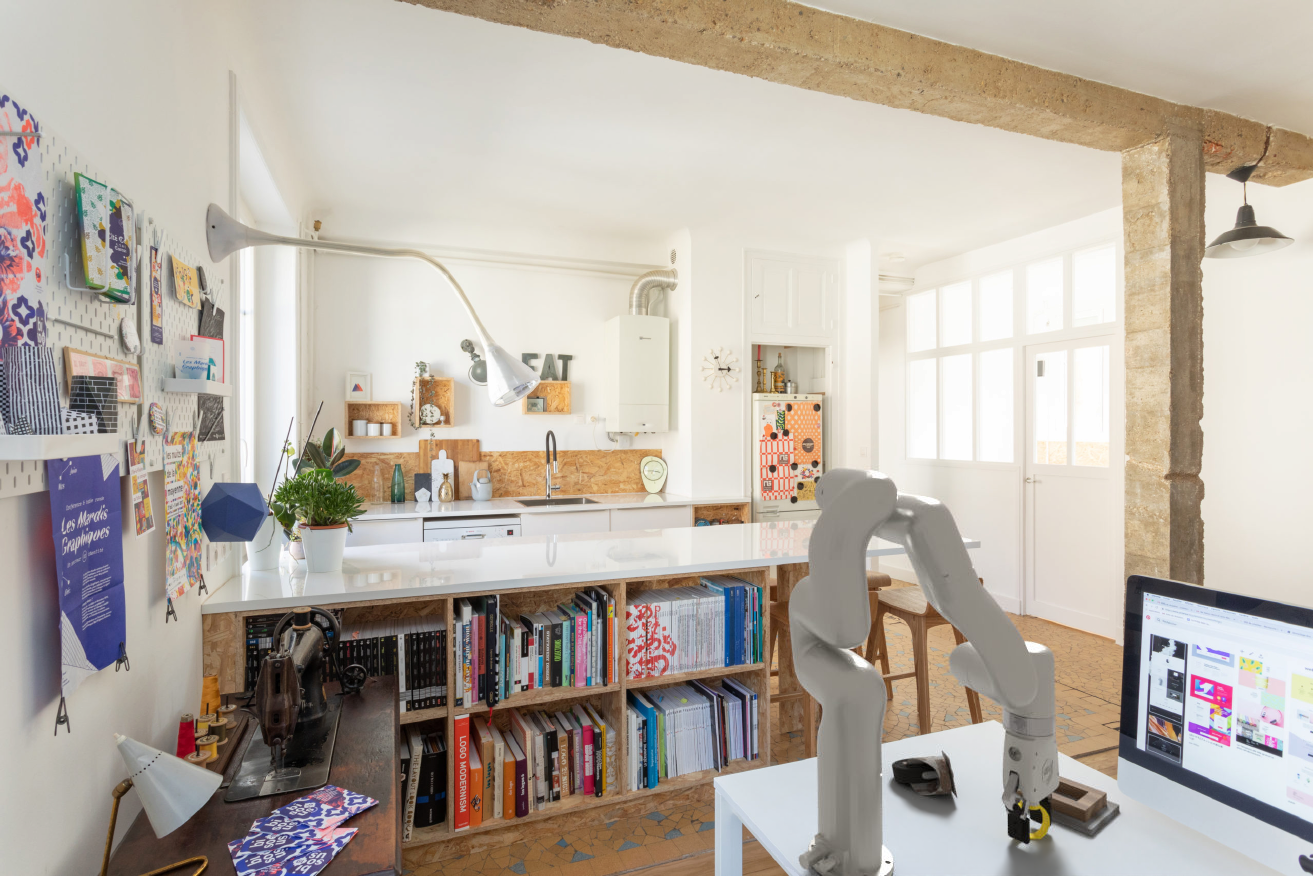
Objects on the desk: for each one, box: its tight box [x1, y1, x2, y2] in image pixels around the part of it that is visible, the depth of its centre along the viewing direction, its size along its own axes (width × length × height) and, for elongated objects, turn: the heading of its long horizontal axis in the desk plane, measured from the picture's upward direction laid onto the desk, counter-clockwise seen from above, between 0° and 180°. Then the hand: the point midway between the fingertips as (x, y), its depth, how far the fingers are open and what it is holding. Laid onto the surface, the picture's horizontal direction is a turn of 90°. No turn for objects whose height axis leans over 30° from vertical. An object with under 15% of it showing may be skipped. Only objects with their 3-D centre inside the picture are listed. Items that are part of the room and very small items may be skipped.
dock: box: [1015, 775, 1120, 837], centre depth 120 cm, size 12×14×3 cm
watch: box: [1018, 800, 1051, 841], centre depth 111 cm, size 6×3×6 cm, turn 94°
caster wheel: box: [891, 750, 958, 799], centre depth 127 cm, size 7×11×10 cm
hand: (1029, 830), depth 111 cm, fingers open, 6 cm apart
